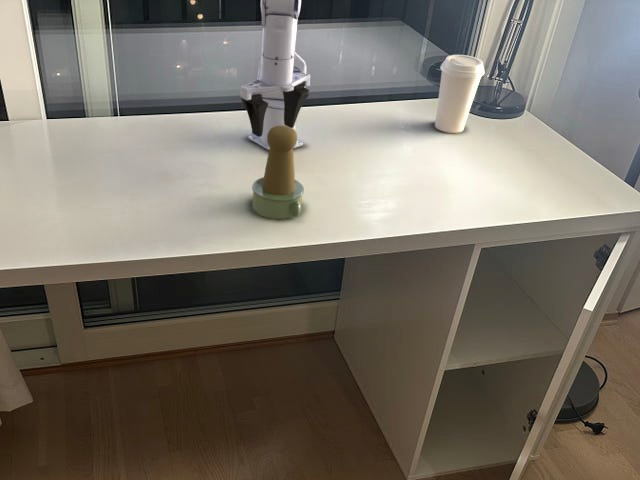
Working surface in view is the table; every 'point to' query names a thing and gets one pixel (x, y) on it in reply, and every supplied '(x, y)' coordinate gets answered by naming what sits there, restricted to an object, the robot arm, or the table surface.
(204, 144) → the table surface
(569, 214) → the table surface
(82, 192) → the table surface
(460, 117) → the coffee cup
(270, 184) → the brown pawn
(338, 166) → the table surface
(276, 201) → the upturned mug
